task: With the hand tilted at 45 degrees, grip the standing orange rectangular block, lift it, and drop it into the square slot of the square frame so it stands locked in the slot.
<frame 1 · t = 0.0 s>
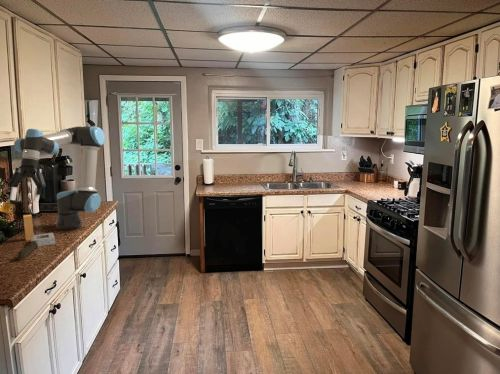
hand: (24, 200, 188), 28 cm above the countertop, tool tilted 20°, fingers open, 13 cm apart
hand tool: (28, 255, 192), on the countertop
square frame: (43, 242, 210), on the countertop
orange rectangular block: (29, 239, 216), on the countertop
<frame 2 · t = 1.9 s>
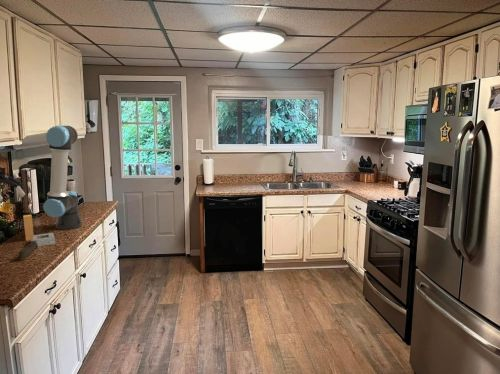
hand: (12, 197, 215), 24 cm above the countertop, tool tilted 45°, fingers open, 13 cm apart
nothing on the countertop moved.
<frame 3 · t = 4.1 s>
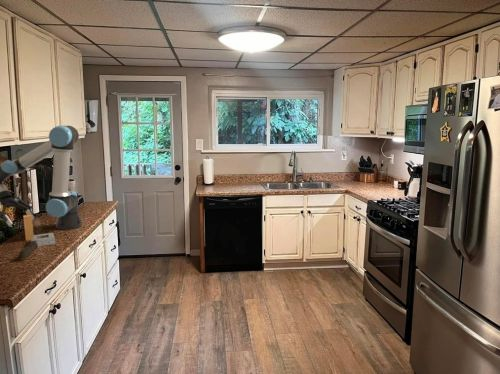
hand: (22, 221, 215), 10 cm above the countertop, tool tilted 45°, fingers open, 13 cm apart
nothing on the countertop moved.
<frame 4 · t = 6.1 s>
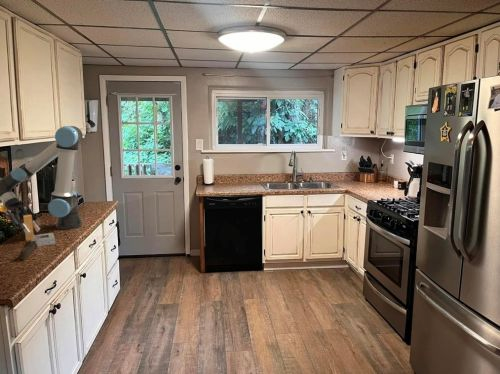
hand: (33, 231, 214), 5 cm above the countertop, tool tilted 45°, fingers closed on orange rectangular block, 6 cm apart
orange rectangular block: (29, 239, 216), on the countertop, touching gripper
everything else where it was.
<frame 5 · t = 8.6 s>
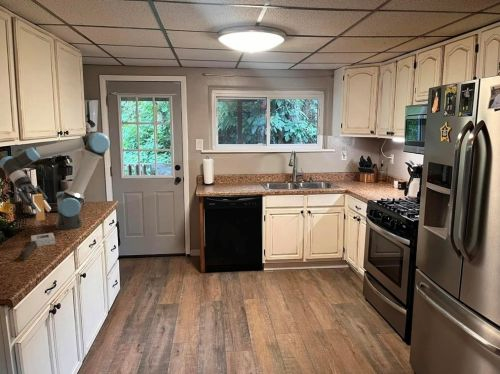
hand: (44, 211, 206), 18 cm above the countertop, tool tilted 45°, fingers closed on orange rectangular block, 5 cm apart
orange rectangular block: (40, 219, 208), point 13 cm above the countertop, touching gripper
everything else where it was.
when the fingers open (6 cm above the countertop, at t = 11.2 s): orange rectangular block stays where it is, resting in square frame.
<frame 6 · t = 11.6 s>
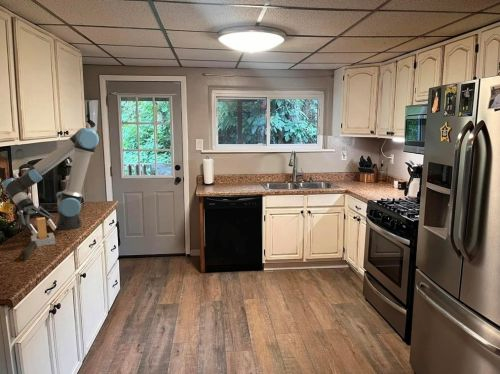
hand: (45, 231, 208), 7 cm above the countertop, tool tilted 45°, fingers open, 11 cm apart
orange rectangular block: (43, 242, 210), resting in square frame
everything else where it was.
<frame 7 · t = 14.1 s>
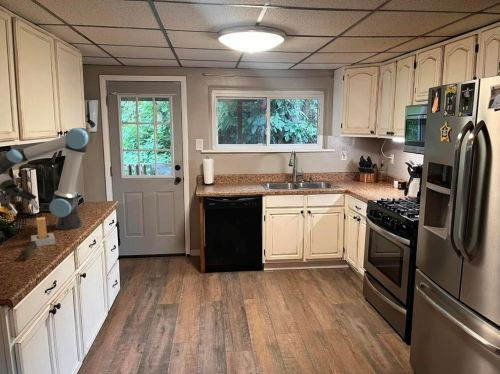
hand: (27, 211, 211), 17 cm above the countertop, tool tilted 45°, fingers open, 13 cm apart
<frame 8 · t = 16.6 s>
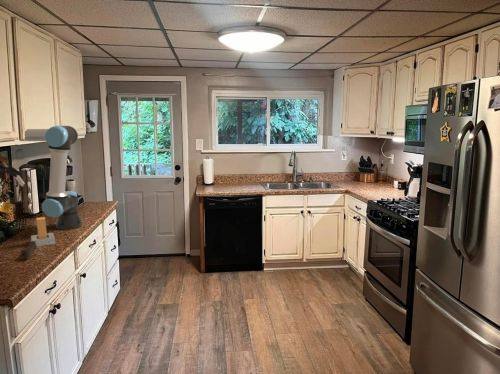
hand: (12, 186, 216), 30 cm above the countertop, tool tilted 45°, fingers open, 13 cm apart
at the end: orange rectangular block 0.1 cm off-centre on the square frame, point 0.0 cm above the square frame's base; orange rectangular block tilted 0°; the gripper is holding nothing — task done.
